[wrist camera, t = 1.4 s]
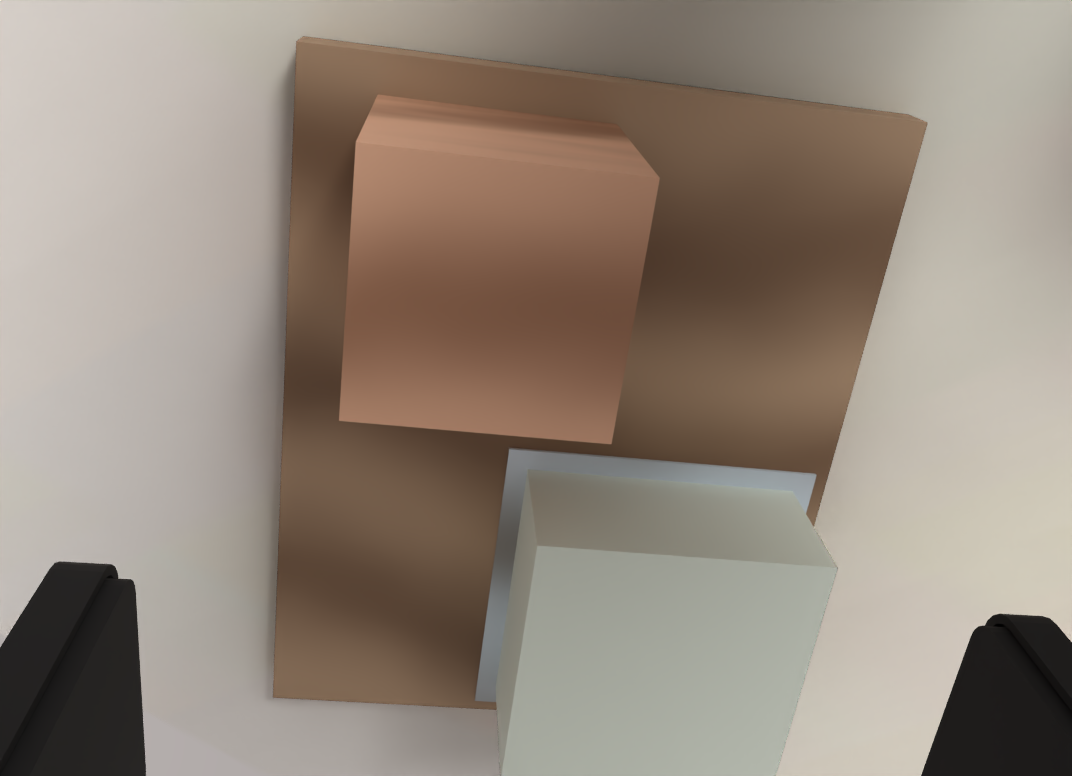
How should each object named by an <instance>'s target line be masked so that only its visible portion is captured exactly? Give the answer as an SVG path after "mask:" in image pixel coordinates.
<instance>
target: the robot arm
mask: <svg viewBox="0 0 1072 776" xmlns="http://www.w3.org/2000/svg"><path fill="white" fill-rule="evenodd" d="M0 776H146V764H145V748H144V730H143V712H142V695H141V677H140V660H139V642H138V625H137V608H136V591H135V585H134V582H133V581H132V580H131V579H118V573H117V570H116V568H115V566H113V565H112V564H94V563H76V562H57V563H54V565H53V566H52V567H51V568H50V569H49V571H48V573H47V574H46V576H45V577H44V579H43V581H42V582H41V584H40V585H39V587H38V588H37V590H36V592H35V593H34V595H33V596H32V598H31V600H30V601H29V603H28V604H27V606H26V608H25V609H24V611H23V612H22V614H21V615H20V617H19V619H18V620H17V622H16V623H15V625H14V627H13V628H12V630H11V631H10V633H9V635H8V636H7V638H6V639H5V641H4V642H3V644H2V646H1V647H0ZM921 776H1072V642H1071V641H1070V640H1069V639H1068V638H1067V636H1066V635H1065V634H1064V633H1063V632H1062V630H1061V629H1060V628H1059V627H1058V626H1057V625H1056V624H1055V623H1054V622H1053V621H1052V620H1051V619H1050V618H1047V617H1043V616H1028V615H1010V614H997V615H993V616H992V617H991V618H990V619H989V620H988V621H987V623H986V625H985V626H979V627H977V628H976V629H975V630H974V632H973V633H972V635H971V638H970V641H969V643H968V646H967V649H966V652H965V655H964V657H963V660H962V663H961V666H960V669H959V671H958V674H957V677H956V680H955V683H954V685H953V688H952V691H951V694H950V697H949V699H948V702H947V705H946V708H945V711H944V713H943V716H942V719H941V722H940V725H939V727H938V730H937V733H936V736H935V738H934V741H933V744H932V747H931V750H930V752H929V755H928V758H927V761H926V764H925V766H924V769H923V772H922V775H921Z"/></svg>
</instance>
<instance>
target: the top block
mask: <svg viewBox="0 0 1072 776" xmlns="http://www.w3.org/2000/svg"><path fill="white" fill-rule="evenodd" d="M659 180H660V177H659V176H658V175H657V174H656V172H655V171H654V170H653V169H652V167H651V166H650V165H649V164H648V162H647V161H646V160H645V159H644V157H643V156H642V155H641V154H640V152H639V151H638V150H637V149H636V147H635V146H634V145H633V144H632V142H631V141H630V140H629V138H628V137H627V136H626V135H625V133H624V132H623V131H622V130H621V128H620V127H619V126H618V125H617V124H612V123H604V122H596V121H587V120H579V119H571V118H563V117H555V116H547V115H539V114H531V113H523V112H515V111H507V110H499V109H491V108H483V107H475V106H466V105H458V104H450V103H442V102H434V101H426V100H418V99H410V98H402V97H394V96H386V95H377V97H376V99H375V102H374V104H373V106H372V108H371V110H370V112H369V114H368V117H367V119H366V121H365V123H364V125H363V127H362V130H361V132H360V134H359V136H358V138H357V140H356V146H355V163H354V180H353V196H352V213H351V229H350V246H349V262H348V279H347V295H346V312H345V329H344V345H343V362H342V378H341V395H340V411H339V421H347V422H358V423H370V424H381V425H393V426H405V427H416V428H428V429H439V430H451V431H463V432H474V433H486V434H497V435H509V436H520V437H532V438H544V439H555V440H567V441H578V442H590V443H601V444H612V439H613V433H614V428H615V422H616V417H617V411H618V406H619V400H620V395H621V389H622V384H623V378H624V373H625V367H626V362H627V356H628V351H629V345H630V340H631V334H632V329H633V323H634V318H635V312H636V307H637V301H638V296H639V290H640V285H641V279H642V274H643V268H644V263H645V257H646V252H647V246H648V241H649V235H650V230H651V224H652V219H653V213H654V208H655V202H656V197H657V191H658V186H659Z"/></svg>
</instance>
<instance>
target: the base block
mask: <svg viewBox="0 0 1072 776" xmlns="http://www.w3.org/2000/svg"><path fill="white" fill-rule="evenodd" d="M837 569H838V567H837V566H836V564H835V562H834V561H833V559H832V557H831V556H830V554H829V552H828V550H827V549H826V547H825V545H824V544H823V542H822V540H821V539H820V537H819V535H818V534H817V532H816V530H815V528H814V527H813V525H812V523H811V522H810V520H809V518H808V517H807V515H806V513H805V511H804V510H803V508H802V506H801V505H800V503H799V501H798V500H797V498H796V496H795V495H794V493H793V491H784V490H772V489H760V488H747V487H735V486H723V485H711V484H699V483H687V482H675V481H663V480H651V479H638V478H626V477H614V476H602V475H590V474H578V473H566V472H554V471H542V470H530V469H527V476H526V483H525V490H524V497H523V503H522V510H521V517H520V524H519V531H518V538H517V544H516V551H515V558H514V565H513V572H512V579H511V585H510V592H509V599H508V606H507V613H506V620H505V626H504V633H503V640H502V647H501V654H500V661H499V668H498V674H497V681H496V705H497V725H498V745H499V765H500V776H776V773H777V770H778V766H779V763H780V760H781V756H782V753H783V749H784V746H785V743H786V739H787V736H788V733H789V729H790V726H791V723H792V719H793V716H794V713H795V709H796V706H797V703H798V699H799V696H800V693H801V689H802V686H803V682H804V679H805V676H806V672H807V669H808V666H809V662H810V659H811V656H812V652H813V649H814V646H815V642H816V639H817V636H818V632H819V629H820V626H821V622H822V619H823V616H824V612H825V609H826V605H827V602H828V599H829V595H830V592H831V589H832V585H833V582H834V579H835V575H836V572H837Z"/></svg>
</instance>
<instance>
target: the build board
mask: <svg viewBox="0 0 1072 776" xmlns="http://www.w3.org/2000/svg"><path fill="white" fill-rule="evenodd" d="M377 95H386V96H394V97H402V98H410V99H418V100H426V101H434V102H442V103H450V104H458V105H466V106H475V107H483V108H491V109H499V110H507V111H515V112H523V113H531V114H539V115H547V116H555V117H563V118H571V119H579V120H587V121H596V122H604V123H612V124H617V125H618V126H619V127H620V128H621V130H622V131H623V132H624V133H625V135H626V136H627V137H628V138H629V140H630V141H631V142H632V144H633V145H634V146H635V147H636V149H637V150H638V151H639V152H640V154H641V155H642V156H643V157H644V159H645V160H646V161H647V162H648V164H649V165H650V166H651V167H652V169H653V170H654V171H655V172H656V174H657V175H658V176H659V177H660V180H659V186H658V191H657V197H656V202H655V208H654V213H653V219H652V224H651V230H650V235H649V241H648V246H647V252H646V257H645V263H644V268H643V274H642V279H641V285H640V290H639V296H638V301H637V307H636V312H635V318H634V323H633V329H632V334H631V340H630V345H629V351H628V356H627V362H626V367H625V373H624V378H623V384H622V389H621V395H620V400H619V406H618V411H617V417H616V422H615V428H614V433H613V439H612V444H601V443H590V442H578V441H567V440H555V439H544V438H532V437H520V436H509V435H497V434H486V433H474V432H463V431H451V430H439V429H428V428H416V427H405V426H393V425H381V424H370V423H358V422H347V421H339V411H340V395H341V378H342V362H343V345H344V329H345V312H346V295H347V279H348V262H349V246H350V229H351V213H352V196H353V180H354V163H355V146H356V140H357V138H358V136H359V134H360V132H361V130H362V127H363V125H364V123H365V121H366V119H367V117H368V114H369V112H370V110H371V108H372V106H373V104H374V102H375V99H376V97H377ZM926 127H927V122H925V121H923V120H920V119H918V118H915V117H913V116H911V115H907V114H899V113H892V112H884V111H876V110H868V109H861V108H853V107H845V106H838V105H830V104H822V103H814V102H807V101H799V100H791V99H783V98H776V97H768V96H760V95H753V94H745V93H737V92H729V91H722V90H714V89H706V88H698V87H691V86H683V85H675V84H668V83H660V82H652V81H644V80H637V79H629V78H621V77H614V76H606V75H598V74H590V73H583V72H575V71H567V70H559V69H552V68H544V67H536V66H529V65H521V64H513V63H505V62H498V61H490V60H482V59H474V58H467V57H459V56H451V55H444V54H436V53H428V52H420V51H413V50H405V49H397V48H390V47H382V46H374V45H366V44H359V43H351V42H343V41H335V40H328V39H320V38H312V37H305V36H303V37H302V38H300V39H299V40H298V41H296V68H295V96H294V124H293V152H292V180H291V208H290V236H289V264H288V292H287V320H286V348H285V376H284V403H283V431H282V459H281V487H280V515H279V543H278V571H277V599H276V627H275V655H274V683H273V698H292V699H310V700H328V701H347V702H365V703H383V704H402V705H420V706H438V707H457V708H475V709H493V710H497V705H496V681H497V674H498V668H499V661H500V654H501V647H502V640H503V633H504V626H505V620H506V613H507V606H508V599H509V592H510V585H511V579H512V572H513V565H514V558H515V551H516V544H517V538H518V531H519V524H520V517H521V510H522V503H523V497H524V490H525V483H526V476H527V469H530V470H542V471H554V472H566V473H578V474H590V475H602V476H614V477H626V478H638V479H651V480H663V481H675V482H687V483H699V484H711V485H723V486H735V487H747V488H760V489H772V490H784V491H793V493H794V495H795V496H796V498H797V500H798V501H799V503H800V505H801V506H802V508H803V510H804V511H805V513H806V515H807V517H808V518H809V520H810V522H811V523H812V525H813V527H814V524H815V520H816V517H817V513H818V510H819V506H820V503H821V499H822V496H823V492H824V488H825V485H826V481H827V478H828V474H829V471H830V467H831V464H832V460H833V457H834V453H835V449H836V446H837V442H838V439H839V435H840V432H841V428H842V425H843V421H844V418H845V414H846V410H847V407H848V403H849V400H850V396H851V393H852V389H853V386H854V382H855V379H856V375H857V371H858V368H859V364H860V361H861V357H862V354H863V350H864V347H865V343H866V340H867V336H868V332H869V329H870V325H871V322H872V318H873V315H874V311H875V308H876V304H877V301H878V297H879V293H880V290H881V286H882V283H883V279H884V276H885V272H886V269H887V265H888V261H889V258H890V254H891V251H892V247H893V244H894V240H895V237H896V233H897V230H898V226H899V222H900V219H901V215H902V212H903V208H904V205H905V201H906V198H907V194H908V191H909V187H910V183H911V180H912V176H913V173H914V169H915V166H916V162H917V159H918V155H919V152H920V148H921V144H922V141H923V137H924V134H925V130H926Z"/></svg>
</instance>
